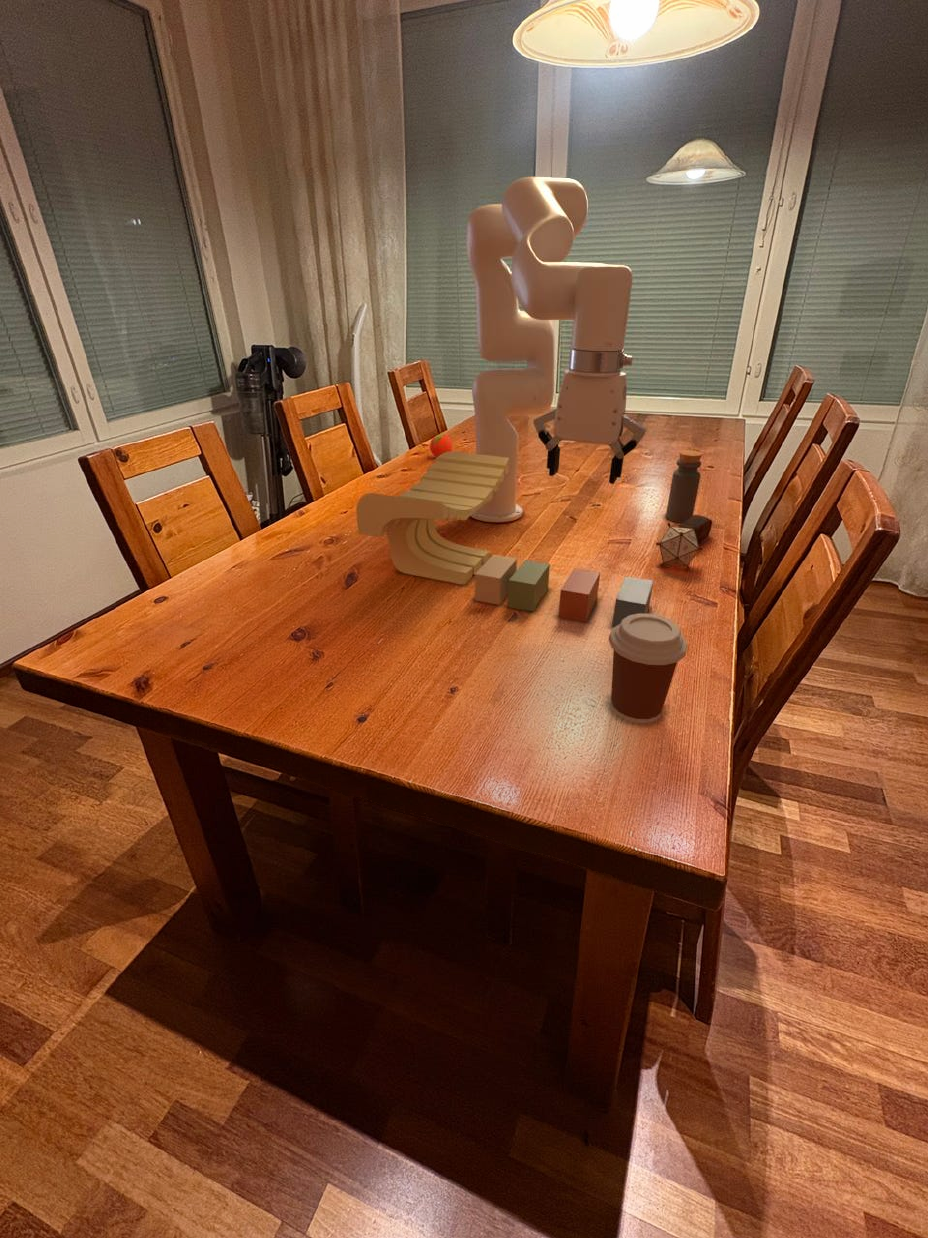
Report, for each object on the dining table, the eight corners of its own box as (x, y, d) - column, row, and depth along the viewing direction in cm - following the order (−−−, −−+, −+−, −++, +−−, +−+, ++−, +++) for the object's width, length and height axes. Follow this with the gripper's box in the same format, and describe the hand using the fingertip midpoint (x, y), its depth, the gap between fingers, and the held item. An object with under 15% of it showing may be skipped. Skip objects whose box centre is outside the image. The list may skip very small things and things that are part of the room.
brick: (691, 551, 122) (695, 529, 120) (672, 546, 124) (676, 525, 122) (709, 536, 129) (714, 516, 127) (691, 532, 131) (696, 511, 129)
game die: (678, 580, 119) (714, 540, 116) (679, 583, 111) (718, 540, 108) (642, 551, 120) (677, 511, 117) (641, 552, 112) (678, 509, 109)
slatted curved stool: (437, 531, 131) (435, 449, 123) (506, 543, 126) (509, 457, 117) (363, 587, 107) (354, 490, 99) (443, 605, 102) (442, 503, 93)
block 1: (474, 600, 103) (474, 573, 101) (492, 579, 111) (493, 554, 108) (499, 605, 102) (500, 578, 99) (515, 583, 109) (517, 558, 107)
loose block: (558, 616, 98) (560, 589, 96) (571, 593, 106) (574, 567, 103) (585, 622, 97) (588, 594, 94) (597, 598, 104) (600, 572, 102)
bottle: (693, 515, 141) (706, 451, 133) (690, 524, 136) (703, 457, 129) (667, 512, 143) (678, 448, 135) (663, 520, 138) (675, 454, 131)
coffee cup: (688, 714, 76) (707, 633, 70) (637, 739, 72) (652, 655, 66) (635, 679, 83) (648, 602, 77) (585, 700, 79) (595, 620, 73)
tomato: (444, 462, 181) (444, 438, 178) (424, 460, 184) (423, 436, 180) (456, 456, 187) (456, 433, 184) (436, 454, 190) (436, 430, 186)
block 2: (507, 606, 101) (508, 579, 99) (523, 585, 109) (525, 559, 106) (533, 611, 100) (534, 584, 97) (548, 589, 107) (550, 563, 105)
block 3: (611, 627, 95) (615, 599, 93) (621, 602, 103) (625, 576, 100) (640, 632, 94) (645, 604, 92) (648, 607, 101) (653, 580, 99)
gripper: (659, 362, 88) (641, 477, 97) (545, 355, 94) (537, 464, 102) (652, 369, 82) (633, 491, 91) (530, 361, 88) (524, 477, 97)
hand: (582, 477), depth 97 cm, fingers open, 9 cm apart
